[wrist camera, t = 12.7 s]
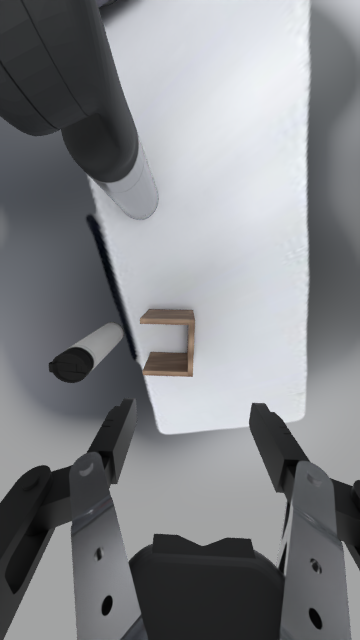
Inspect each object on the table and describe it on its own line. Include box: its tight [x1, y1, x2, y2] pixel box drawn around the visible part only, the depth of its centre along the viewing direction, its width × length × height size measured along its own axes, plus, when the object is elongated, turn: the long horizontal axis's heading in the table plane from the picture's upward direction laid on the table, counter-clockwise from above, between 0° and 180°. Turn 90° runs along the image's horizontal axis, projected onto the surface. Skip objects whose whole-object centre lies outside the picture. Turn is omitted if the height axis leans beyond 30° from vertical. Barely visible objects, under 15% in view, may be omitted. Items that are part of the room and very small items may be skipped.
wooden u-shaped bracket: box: [140, 309, 195, 377], centre depth 44 cm, size 14×12×10 cm
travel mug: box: [49, 322, 124, 383], centre depth 39 cm, size 6×7×20 cm
